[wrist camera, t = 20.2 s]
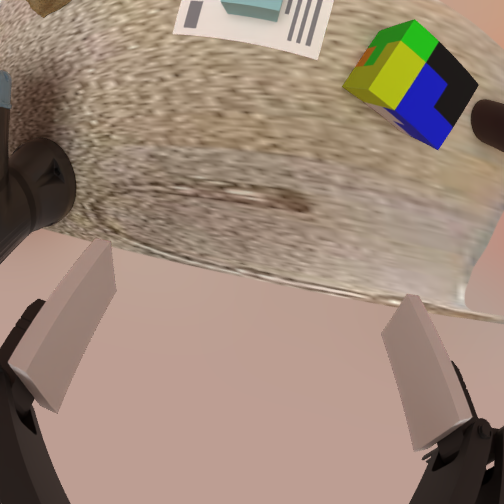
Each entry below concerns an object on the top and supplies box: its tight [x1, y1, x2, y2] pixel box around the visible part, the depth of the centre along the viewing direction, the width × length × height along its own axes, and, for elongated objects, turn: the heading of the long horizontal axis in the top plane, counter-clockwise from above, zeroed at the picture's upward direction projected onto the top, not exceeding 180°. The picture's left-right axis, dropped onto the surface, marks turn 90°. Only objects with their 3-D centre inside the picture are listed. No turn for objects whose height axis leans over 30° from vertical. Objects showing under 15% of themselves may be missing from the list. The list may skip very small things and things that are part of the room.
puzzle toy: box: [342, 19, 478, 150], centre depth 25 cm, size 10×10×10 cm
